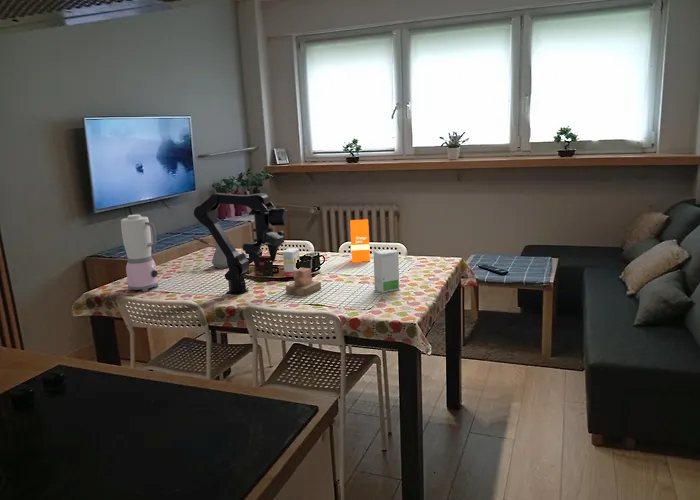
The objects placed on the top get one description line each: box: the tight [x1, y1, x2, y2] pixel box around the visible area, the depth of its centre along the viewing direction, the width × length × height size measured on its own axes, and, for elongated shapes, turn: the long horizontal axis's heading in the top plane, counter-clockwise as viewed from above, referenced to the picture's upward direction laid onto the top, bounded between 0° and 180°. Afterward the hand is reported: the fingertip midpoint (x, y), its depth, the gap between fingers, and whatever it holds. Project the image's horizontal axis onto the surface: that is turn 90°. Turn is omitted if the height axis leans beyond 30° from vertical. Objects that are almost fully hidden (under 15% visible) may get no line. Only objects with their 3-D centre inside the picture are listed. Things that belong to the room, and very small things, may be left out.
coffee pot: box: [191, 236, 228, 269], centre depth 274 cm, size 21×12×15 cm, turn 78°
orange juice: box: [349, 219, 371, 263], centre depth 270 cm, size 8×9×20 cm
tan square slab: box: [285, 280, 322, 297], centre depth 225 cm, size 10×10×3 cm
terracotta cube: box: [293, 267, 313, 286], centre depth 224 cm, size 5×5×6 cm
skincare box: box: [372, 249, 400, 294], centre depth 219 cm, size 8×7×16 cm
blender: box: [120, 214, 159, 292], centre depth 238 cm, size 16×12×32 cm
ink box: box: [282, 247, 300, 279], centre depth 249 cm, size 9×5×12 cm, turn 166°
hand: (265, 264), depth 222 cm, fingers open, 9 cm apart
